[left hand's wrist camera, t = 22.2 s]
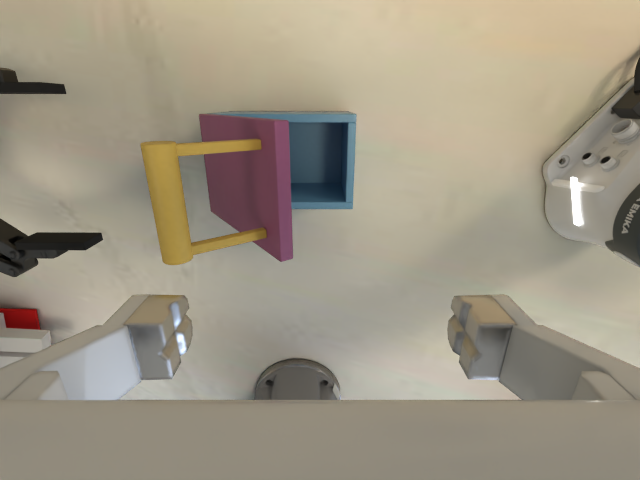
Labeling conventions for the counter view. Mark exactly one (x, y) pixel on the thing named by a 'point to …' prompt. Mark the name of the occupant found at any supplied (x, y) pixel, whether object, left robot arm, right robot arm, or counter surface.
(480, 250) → the counter surface
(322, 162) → the chest
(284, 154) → the lid
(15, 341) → the toy
